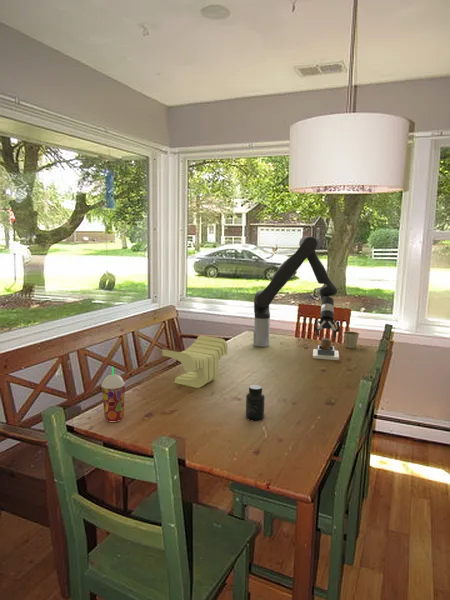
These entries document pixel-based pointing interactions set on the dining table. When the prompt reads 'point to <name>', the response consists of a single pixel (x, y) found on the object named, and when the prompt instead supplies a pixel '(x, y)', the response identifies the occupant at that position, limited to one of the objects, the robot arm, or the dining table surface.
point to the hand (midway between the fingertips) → (326, 336)
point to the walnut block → (326, 344)
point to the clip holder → (325, 353)
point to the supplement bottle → (255, 403)
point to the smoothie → (113, 396)
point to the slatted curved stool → (199, 360)
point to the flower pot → (351, 339)
